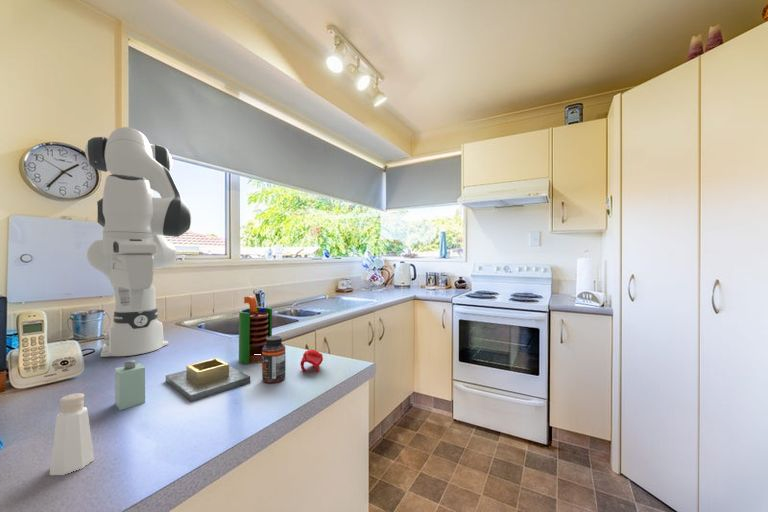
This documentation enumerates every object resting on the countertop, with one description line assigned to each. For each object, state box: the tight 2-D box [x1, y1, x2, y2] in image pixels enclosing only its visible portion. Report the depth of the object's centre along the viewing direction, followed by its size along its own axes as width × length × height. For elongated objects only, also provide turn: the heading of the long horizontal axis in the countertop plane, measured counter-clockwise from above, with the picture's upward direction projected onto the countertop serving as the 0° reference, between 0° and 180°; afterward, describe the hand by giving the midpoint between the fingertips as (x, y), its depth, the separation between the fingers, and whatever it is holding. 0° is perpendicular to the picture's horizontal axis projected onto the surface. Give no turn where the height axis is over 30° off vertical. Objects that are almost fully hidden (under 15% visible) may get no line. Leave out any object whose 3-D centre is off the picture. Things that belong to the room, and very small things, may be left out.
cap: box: [299, 349, 324, 373], centre depth 91 cm, size 8×6×6 cm
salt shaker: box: [49, 392, 95, 476], centre depth 50 cm, size 5×5×11 cm
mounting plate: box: [165, 357, 251, 403], centre depth 82 cm, size 18×14×4 cm
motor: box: [238, 295, 273, 365], centre depth 100 cm, size 10×9×20 cm
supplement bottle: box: [261, 335, 286, 384], centre depth 84 cm, size 6×6×11 cm
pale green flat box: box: [114, 359, 146, 411], centre depth 70 cm, size 4×4×10 cm
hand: (129, 307), depth 70 cm, fingers open, 8 cm apart
